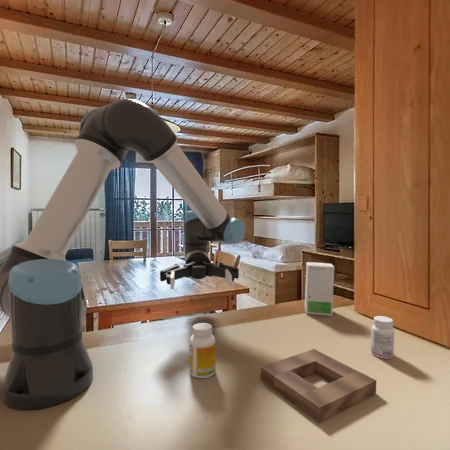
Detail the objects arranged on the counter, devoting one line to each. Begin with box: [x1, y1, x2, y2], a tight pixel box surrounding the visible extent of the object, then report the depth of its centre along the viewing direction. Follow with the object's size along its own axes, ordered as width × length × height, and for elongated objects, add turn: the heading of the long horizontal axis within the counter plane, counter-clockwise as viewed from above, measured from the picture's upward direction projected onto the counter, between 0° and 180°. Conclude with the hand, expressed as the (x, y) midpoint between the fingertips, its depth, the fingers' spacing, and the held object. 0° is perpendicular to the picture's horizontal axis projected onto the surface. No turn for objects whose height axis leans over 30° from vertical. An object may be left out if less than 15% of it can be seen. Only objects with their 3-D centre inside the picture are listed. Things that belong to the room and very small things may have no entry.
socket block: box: [260, 348, 377, 423], centre depth 62 cm, size 15×15×2 cm
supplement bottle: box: [188, 322, 217, 379], centre depth 67 cm, size 5×5×10 cm
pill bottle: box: [370, 315, 395, 360], centre depth 75 cm, size 5×5×8 cm
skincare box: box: [304, 261, 335, 317], centre depth 103 cm, size 8×7×16 cm
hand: (201, 282), depth 76 cm, fingers open, 13 cm apart
